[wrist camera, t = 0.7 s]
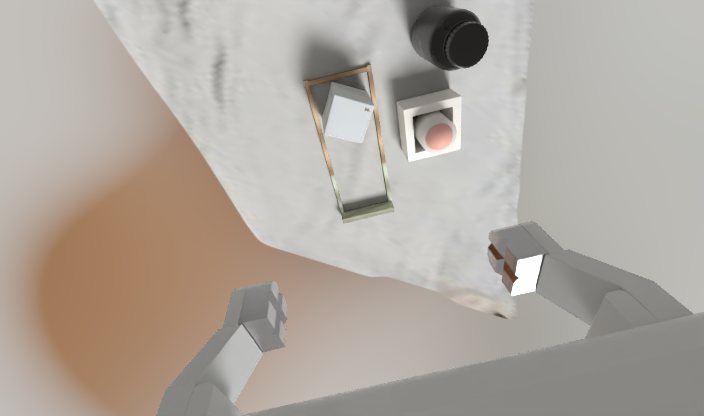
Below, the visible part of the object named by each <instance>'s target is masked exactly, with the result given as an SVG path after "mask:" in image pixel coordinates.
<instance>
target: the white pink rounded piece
mask: <svg viewBox="0 0 704 416" xmlns="http://www.w3.org/2000/svg"><path fill="white" fill-rule="evenodd" d="M413 129H414V136H415V137H416V139H417V140H418V141H419V143H420V144H421V145H422V147H423V148H424V149H425V150H426V151H427V152H429V153H433V154H438V153H442V152H444V151H446V150H447V149H449V148H450V147H451V146H452V144H453V143H454V141H455V139H456V136H457V130H456V126H455V125H454V123H453V122H451V121H450V120H449V119H448V118H447V117H446V116H445V115H444V114H442V113H441V112H440V111H438V110H437V111H433V112H429V113H425V114H421V115H419V116H418V117H417V118H416V120H415V122H414V125H413Z"/></svg>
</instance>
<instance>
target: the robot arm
mask: <svg viewBox="0 0 704 416" xmlns="http://www.w3.org/2000/svg"><path fill="white" fill-rule="evenodd" d="M489 240H490V241H491V245H490V246H489V247H488V258H489V262H490V264H491V266H492V268H493V269H494V271H495V272H497V273H499V274H501V275H502V282H503V284H504V285H505V287H506V288H507V290H508V291H509V292H510V294H511V295H517V294H522V293H527V292H532V291H536V292H537V293H538V294H540V295H541V296H543V297H544V298H546V299H548V300H550V301H551V302H553V303H554V304H556V305H557V306H559V307H561V308H562V309H564V310H566V311H567V312H569V313H571V314H572V315H574V316H575V317H577V318H579V319H580V320H582V321H584V322H585V323H587V324H589V325H590V328H589V330H588V332H587V334H586V337H585V339H581V340H577V341H572V342H568V343H563V344H559V345H554V346H550V347H545V348H541V349H536V350H532V351H528V352H523V353H518V354H514V355H509V356H505V357H500V358H496V359H492V360H487V361H482V362H478V363H474V364H469V365H464V366H460V367H455V368H451V369H447V370H442V371H438V372H433V373H429V374H424V375H420V376H415V377H411V378H407V379H402V380H397V381H393V382H388V383H384V384H380V385H375V386H371V387H367V388H362V389H357V390H353V391H348V392H344V393H339V394H335V395H331V396H326V397H321V398H317V399H312V400H308V401H304V402H299V403H294V404H290V405H285V406H281V407H277V408H272V409H268V410H263V411H259V412H254V413H250V414H245V415H244V414H243V413H242V412H241V411H240V410H239V409H238V408H237V407H236V406H235V405H234V403H235V401H236V399H237V398H238V396H239V394H240V393H241V391H242V389H243V387H244V386H245V384H246V382H247V380H248V379H249V377H250V375H251V373H252V372H253V370H254V368H255V366H256V365H257V363H258V361H259V360H260V358H261V356H262V354H263V352H267V351H270V350H274V349H278V348H282V347H285V343H286V328H285V327H284V325H283V324H284V323H285V322H286V320H287V304H286V301H285V299H284V297H283V294H281V293H278V290H279V286H278V285H277V283H276V282H275V281H271V282H266V283H261V284H256V285H252V286H248V287H243V288H238V289H235V290H234V291H233V292H232V295H231V299H230V302H229V306H228V310H227V314H226V317H225V321H224V325H223V328H222V329H218V331H217V332H216V333H215V334H214V335H213V336H212V337H211V339H210V340H209V341H208V342H207V344H206V345H205V346H204V347H203V348H202V349H201V350H200V352H199V353H198V354H197V355H196V356H195V357H194V359H192V361H191V362H190V363H189V364H188V365H187V366H186V368H185V369H184V370H183V371H182V372H181V373H180V375H179V376H178V377H177V378H176V379H175V380H174V381H173V383H172V384H171V385H170V386H169V387H168V388H167V389H166V391H165V393H164V396H163V399H162V401H161V404H160V407H159V409H158V413H157V415H156V416H704V312H702V313H698V314H693V313H692V312H690V311H689V310H688V309H687V308H685V307H684V306H683V305H682V304H681V303H679V302H678V301H677V300H676V299H675V298H673V297H672V296H671V295H669V294H668V293H667V292H666V291H665V290H663V289H662V288H661V287H660V286H659V285H657V284H656V283H655V282H654V281H651V280H649V279H646V278H643V277H641V276H638V275H635V274H633V273H630V272H627V271H625V270H622V269H619V268H616V267H614V266H611V265H609V264H606V263H603V262H601V261H598V260H595V259H593V258H590V257H587V256H585V255H582V254H579V253H576V252H574V251H571V250H563V248H562V247H561V246H560V245H559V244H557V243H556V242H555V241H554V240H553V239H552V238H551V237H550V236H549V235H548V234H547V233H546V232H545V231H544V230H543V229H542V228H541V227H540V226H539V225H538V224H537V223H535V222H533V221H530V222H526V223H522V224H518V225H513V226H509V227H505V228H501V229H496V230H492V231H491V232H490V234H489Z"/></svg>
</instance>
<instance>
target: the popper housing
mask: <svg viewBox="0 0 704 416" xmlns="http://www.w3.org/2000/svg"><path fill="white" fill-rule="evenodd" d="M396 103H397V112H398V121H399V130H400V139H401V148H402V152H403V153H404V155H405V157H406V158H407V160H408V162H410V161H414V160H418V159H423V158H427V157H431V156H435V155H439V154H443V153H448V152H452V151H456V150H460V144H461V96H460V95H459V94H457V93H456V92H454V91H453V90H451V89H446V90H442V91H438V92H434V93H429V94H425V95H421V96H417V97H413V98H409V99H405V100H401V101H397V102H396ZM441 109H443V114H444V115H445V116H446V117H447V118H448V119H449V120H450V121H451V122H453V123H454V125H455V126H456V130H457V136H456V139H455V141H454V143H453V144H452V146H451V147H450V148H449V149H447V150H446V151H444V152H442V153H438V154H433V153H429V152H427V151H426V150H425V149H424V148H423V147H422V145H421V144H420V143H419V141H418V140H416V141H414V129H413V116H417V115H421V114H425V113H429V112H433V111H437V110H441Z"/></svg>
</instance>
